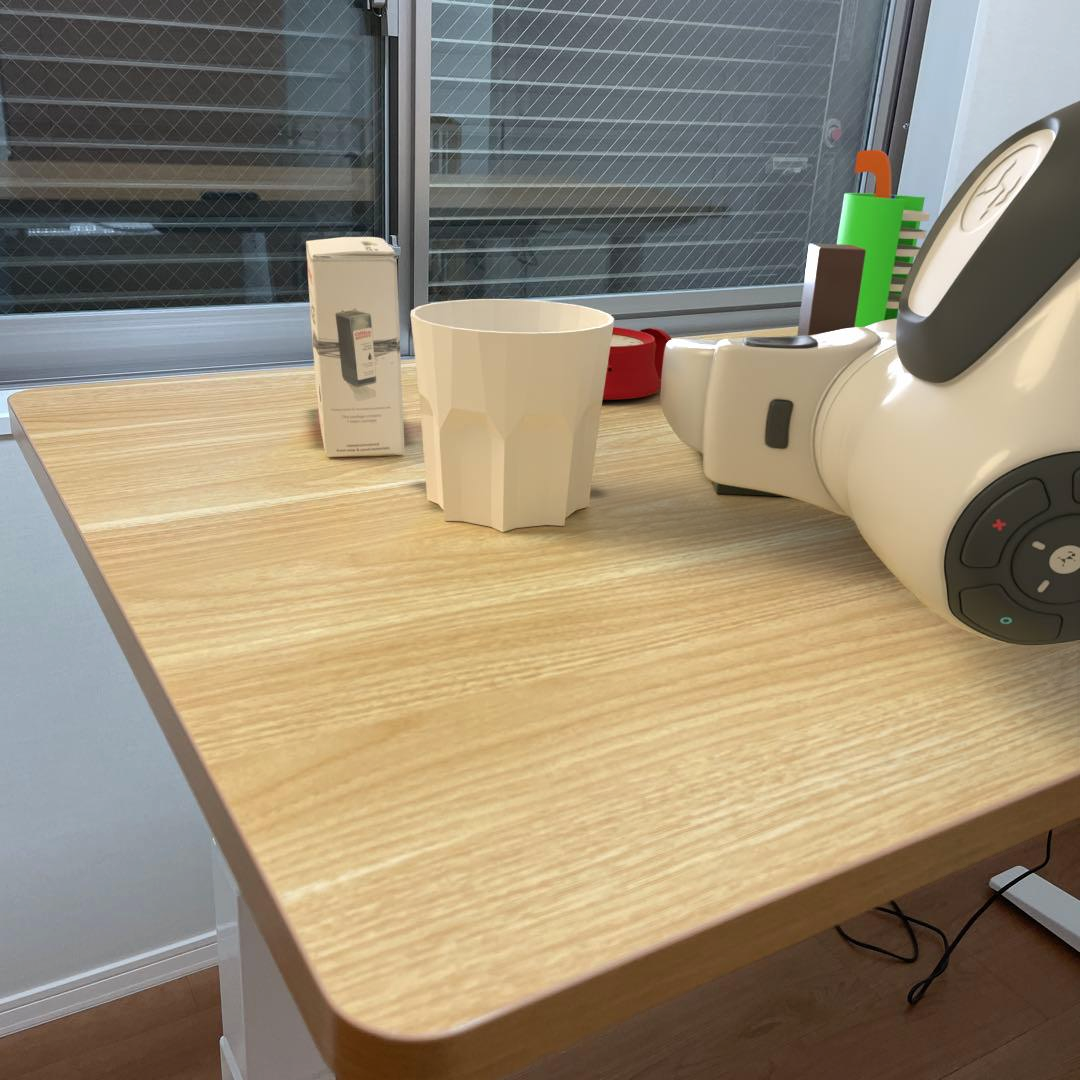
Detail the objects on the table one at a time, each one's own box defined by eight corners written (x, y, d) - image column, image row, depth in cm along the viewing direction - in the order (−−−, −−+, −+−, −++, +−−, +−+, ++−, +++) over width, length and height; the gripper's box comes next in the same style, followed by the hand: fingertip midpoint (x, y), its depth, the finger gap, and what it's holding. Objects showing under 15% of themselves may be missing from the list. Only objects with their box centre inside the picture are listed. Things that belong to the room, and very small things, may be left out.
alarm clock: (496, 346, 75) (577, 278, 86) (503, 423, 79) (579, 348, 90) (630, 363, 71) (696, 290, 83) (631, 443, 75) (694, 362, 86)
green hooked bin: (909, 363, 94) (945, 153, 87) (819, 355, 96) (847, 149, 89) (905, 345, 102) (937, 152, 96) (821, 338, 104) (848, 148, 98)
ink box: (313, 421, 68) (304, 235, 64) (389, 419, 69) (386, 236, 65) (320, 460, 60) (311, 251, 56) (406, 457, 62) (404, 252, 57)
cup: (375, 515, 52) (371, 318, 49) (468, 464, 61) (470, 293, 57) (556, 551, 48) (566, 341, 45) (628, 491, 57) (641, 311, 53)
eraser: (763, 431, 66) (786, 238, 62) (825, 433, 66) (853, 240, 62) (790, 469, 59) (818, 252, 54) (860, 472, 59) (894, 255, 54)
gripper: (1157, 363, 45) (1024, 312, 57) (685, 342, 45) (657, 296, 57) (1121, 501, 47) (1001, 422, 60) (672, 480, 47) (648, 406, 60)
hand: (829, 360), depth 59 cm, fingers open, 8 cm apart
